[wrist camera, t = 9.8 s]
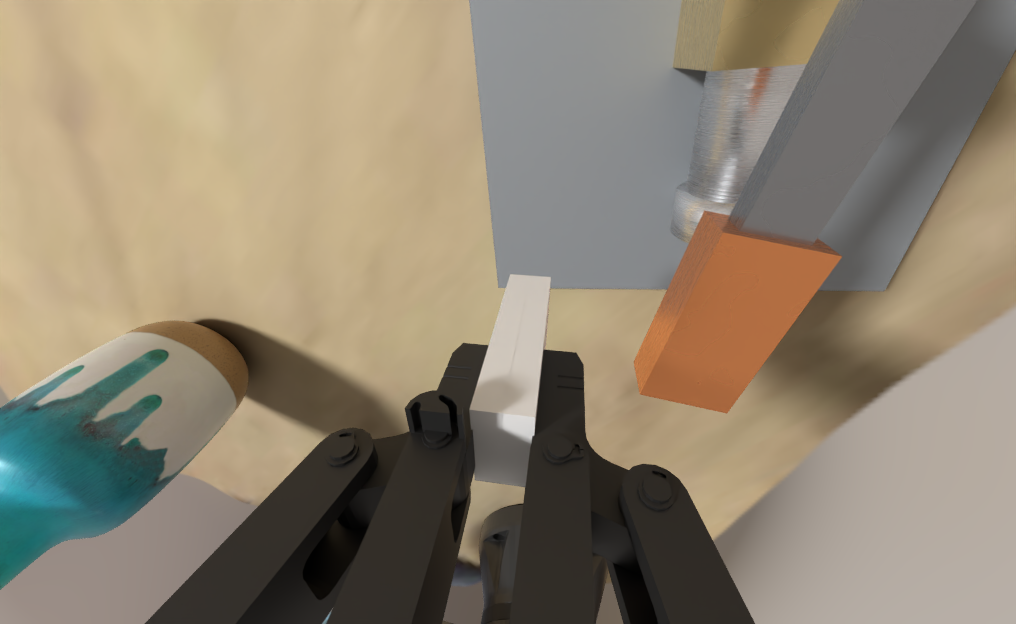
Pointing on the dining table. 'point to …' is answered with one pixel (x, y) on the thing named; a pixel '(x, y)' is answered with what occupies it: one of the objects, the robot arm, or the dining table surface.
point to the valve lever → (790, 203)
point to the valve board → (678, 142)
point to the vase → (110, 434)
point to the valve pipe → (738, 90)
